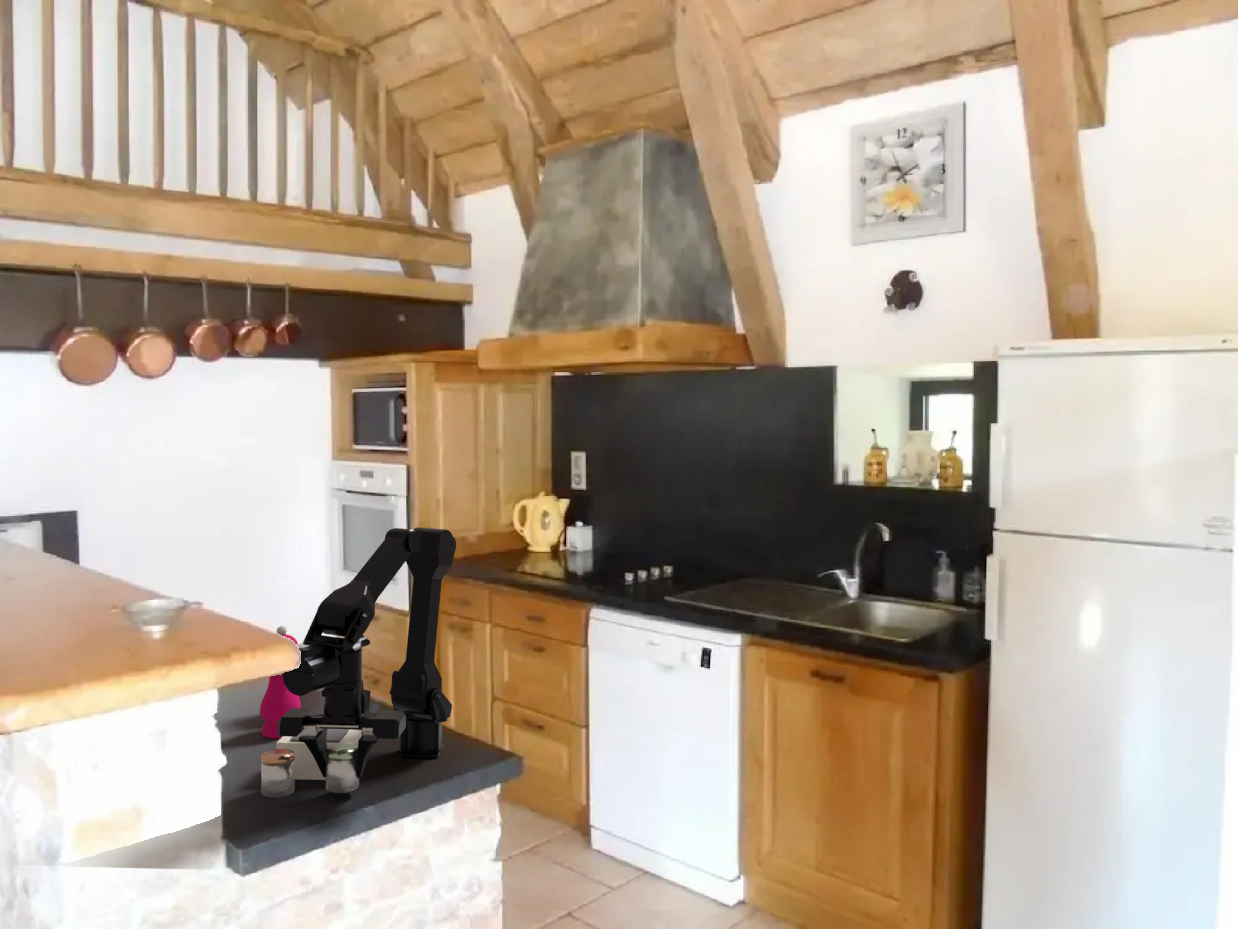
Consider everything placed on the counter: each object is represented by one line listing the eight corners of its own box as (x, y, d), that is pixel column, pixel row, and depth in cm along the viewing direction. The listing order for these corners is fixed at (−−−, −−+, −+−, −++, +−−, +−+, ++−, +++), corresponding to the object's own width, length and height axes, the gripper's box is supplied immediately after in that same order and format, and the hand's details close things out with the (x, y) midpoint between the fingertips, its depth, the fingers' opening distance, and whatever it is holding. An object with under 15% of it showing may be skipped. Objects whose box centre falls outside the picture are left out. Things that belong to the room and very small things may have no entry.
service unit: (362, 764, 171) (362, 727, 170) (350, 780, 163) (350, 742, 163) (291, 762, 171) (291, 725, 170) (276, 779, 163) (276, 740, 163)
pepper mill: (288, 741, 181) (290, 632, 180) (251, 737, 182) (253, 629, 181) (307, 728, 188) (309, 623, 187) (272, 725, 189) (273, 620, 188)
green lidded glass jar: (362, 781, 160) (362, 744, 159) (354, 793, 155) (354, 755, 154) (331, 780, 160) (331, 743, 159) (321, 792, 155) (321, 754, 154)
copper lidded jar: (299, 785, 161) (299, 749, 160) (288, 798, 156) (288, 760, 155) (267, 785, 161) (267, 748, 160) (256, 797, 156) (256, 759, 155)
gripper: (413, 666, 164) (412, 760, 165) (299, 664, 164) (299, 757, 165) (398, 686, 153) (397, 786, 154) (276, 683, 153) (276, 783, 154)
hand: (342, 777), depth 157 cm, fingers closed on green lidded glass jar, 5 cm apart
